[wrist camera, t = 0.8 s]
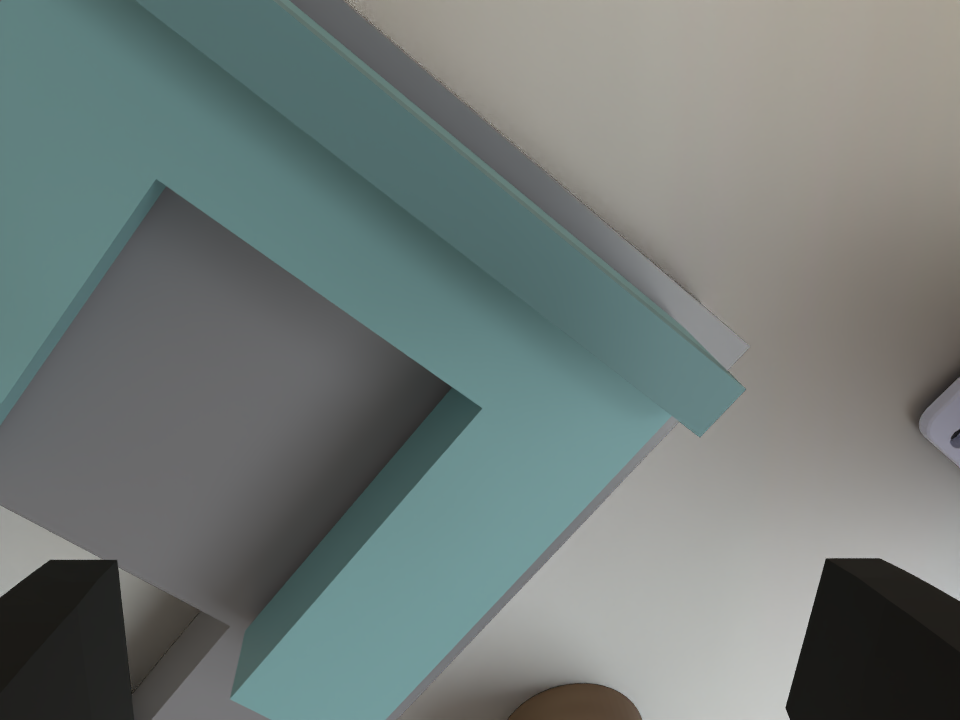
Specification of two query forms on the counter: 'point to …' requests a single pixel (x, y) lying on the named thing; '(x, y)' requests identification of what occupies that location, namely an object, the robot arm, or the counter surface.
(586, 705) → the pin
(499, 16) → the counter surface
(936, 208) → the counter surface
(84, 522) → the housing
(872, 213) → the counter surface
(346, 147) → the keeper plate
